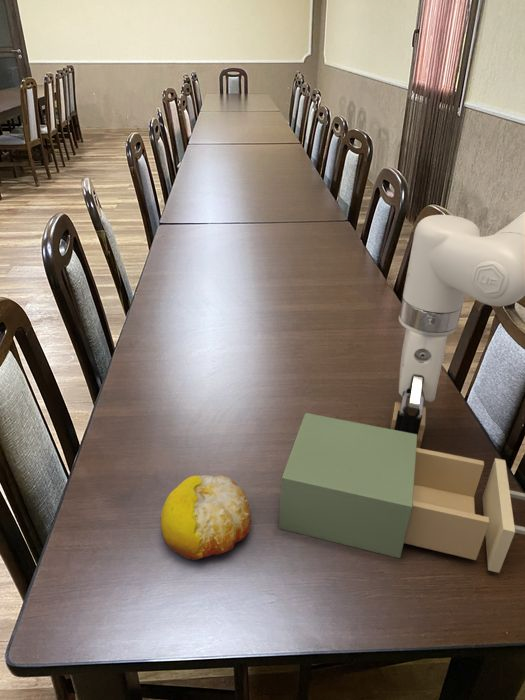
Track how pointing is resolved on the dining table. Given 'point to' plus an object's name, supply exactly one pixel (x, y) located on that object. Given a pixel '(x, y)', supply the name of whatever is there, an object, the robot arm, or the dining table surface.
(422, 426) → the block
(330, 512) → the cabinet
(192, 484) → the fruit
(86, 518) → the dining table surface
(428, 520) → the drawer
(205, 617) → the dining table surface
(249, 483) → the dining table surface
